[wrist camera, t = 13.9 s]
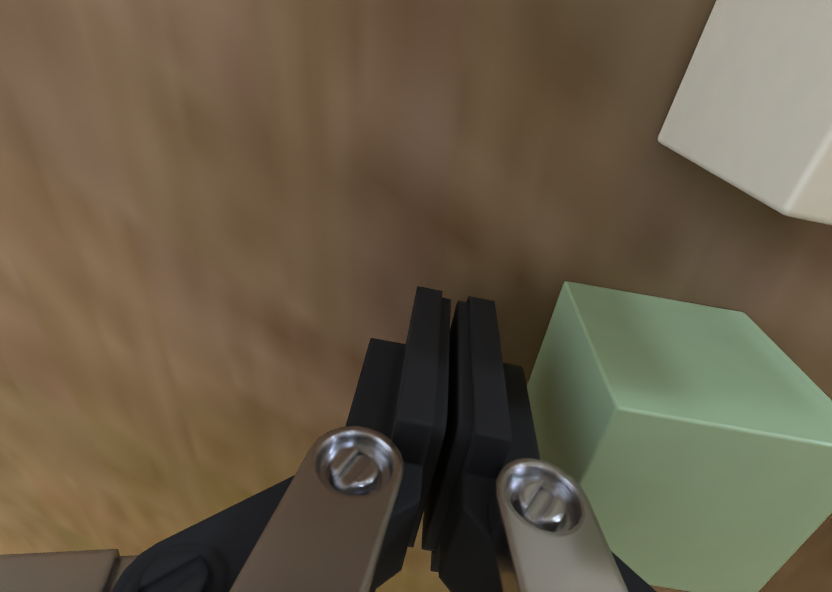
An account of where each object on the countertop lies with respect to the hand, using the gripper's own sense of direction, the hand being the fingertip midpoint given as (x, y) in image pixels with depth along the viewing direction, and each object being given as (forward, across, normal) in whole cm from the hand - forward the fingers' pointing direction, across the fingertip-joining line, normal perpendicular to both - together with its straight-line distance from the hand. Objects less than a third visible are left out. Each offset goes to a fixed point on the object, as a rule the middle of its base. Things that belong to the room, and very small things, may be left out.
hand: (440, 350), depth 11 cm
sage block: (+1, -5, 0) cm, 5 cm away
